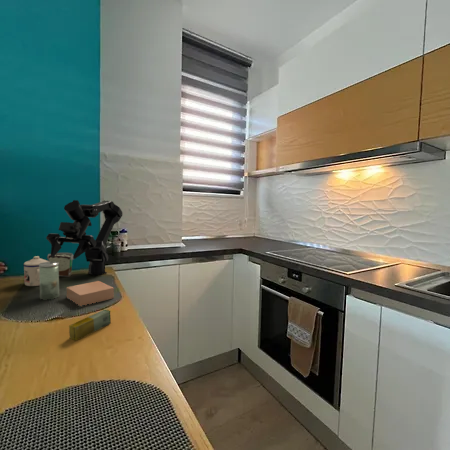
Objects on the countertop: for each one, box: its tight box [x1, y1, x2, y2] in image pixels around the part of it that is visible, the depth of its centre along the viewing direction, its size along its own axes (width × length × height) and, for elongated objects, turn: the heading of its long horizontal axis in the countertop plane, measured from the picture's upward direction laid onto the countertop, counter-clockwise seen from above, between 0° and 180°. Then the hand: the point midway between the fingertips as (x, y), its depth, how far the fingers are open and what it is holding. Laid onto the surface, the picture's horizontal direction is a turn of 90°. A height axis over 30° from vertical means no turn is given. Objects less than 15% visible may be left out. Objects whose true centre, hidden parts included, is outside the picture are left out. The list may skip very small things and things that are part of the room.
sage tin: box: [39, 262, 60, 301], centre depth 101 cm, size 6×6×13 cm
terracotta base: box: [66, 280, 115, 307], centre depth 102 cm, size 12×12×4 cm
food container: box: [46, 252, 75, 278], centre depth 132 cm, size 12×6×10 cm, turn 84°
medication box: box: [68, 309, 112, 341], centre depth 78 cm, size 12×3×4 cm, turn 157°
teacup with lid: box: [23, 255, 49, 287], centre depth 115 cm, size 12×9×12 cm
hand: (62, 257), depth 108 cm, fingers open, 9 cm apart
